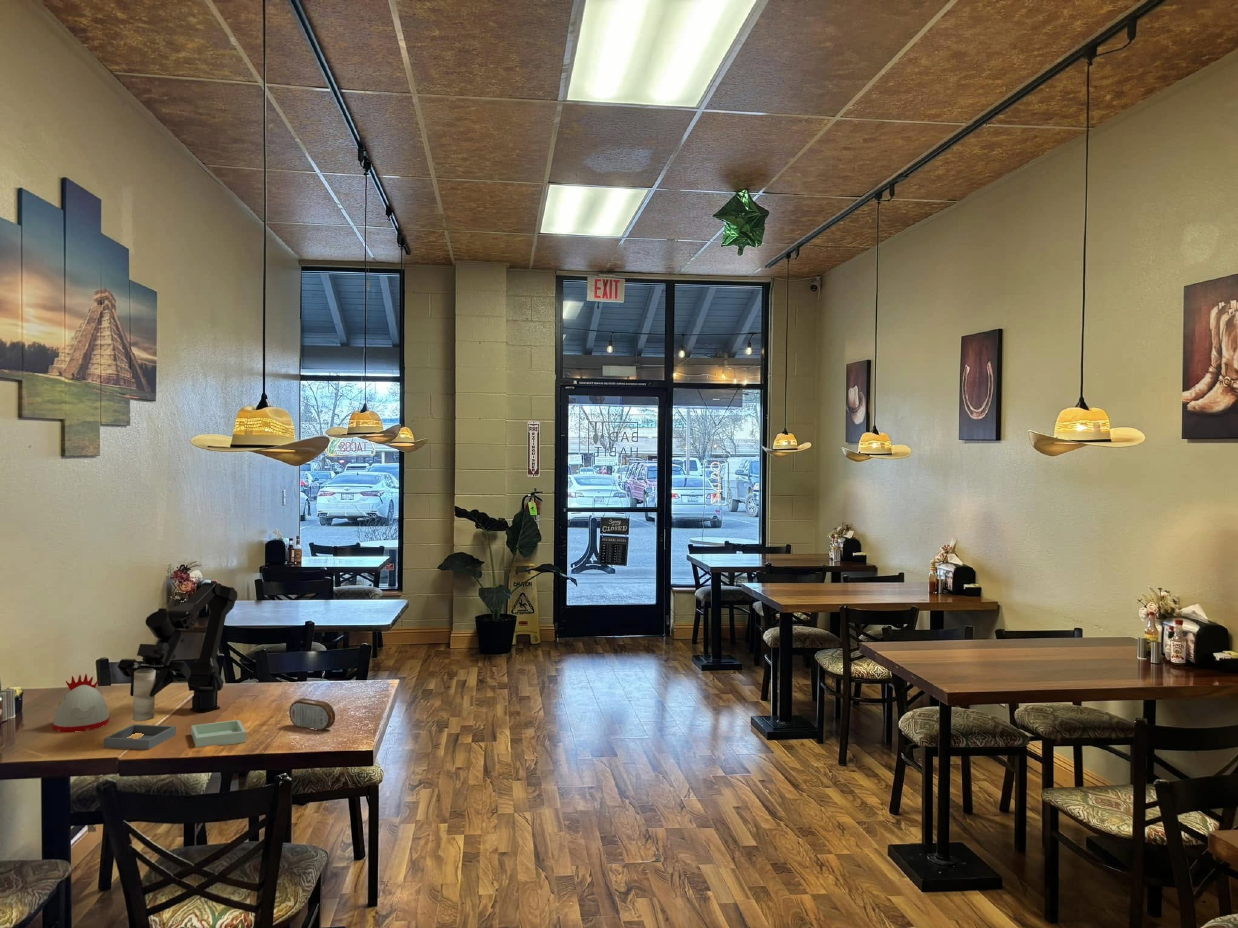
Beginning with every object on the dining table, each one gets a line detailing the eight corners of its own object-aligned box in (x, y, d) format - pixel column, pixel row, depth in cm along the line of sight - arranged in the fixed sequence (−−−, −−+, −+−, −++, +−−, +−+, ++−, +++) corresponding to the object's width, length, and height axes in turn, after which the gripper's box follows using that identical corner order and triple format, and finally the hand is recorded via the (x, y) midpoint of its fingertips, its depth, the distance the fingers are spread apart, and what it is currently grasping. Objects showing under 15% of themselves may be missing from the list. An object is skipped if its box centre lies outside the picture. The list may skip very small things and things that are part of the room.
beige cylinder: (146, 714, 235) (148, 666, 235) (158, 717, 232) (159, 669, 233) (128, 718, 230) (130, 670, 230) (139, 722, 228) (141, 673, 228)
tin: (335, 730, 248) (336, 701, 248) (328, 733, 245) (329, 704, 245) (294, 723, 253) (295, 696, 253) (286, 726, 250) (287, 698, 250)
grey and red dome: (51, 722, 246) (53, 672, 247) (105, 715, 255) (107, 666, 255) (54, 735, 235) (56, 682, 236) (111, 727, 244) (113, 676, 244)
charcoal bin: (132, 734, 238) (133, 724, 238) (175, 736, 237) (176, 726, 237) (103, 749, 225) (103, 737, 225) (148, 751, 225) (149, 740, 225)
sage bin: (191, 735, 238) (191, 725, 238) (239, 729, 245) (239, 719, 245) (195, 748, 228) (196, 737, 228) (245, 742, 234) (246, 731, 234)
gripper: (122, 630, 236) (95, 679, 225) (187, 632, 235) (163, 681, 224) (138, 651, 244) (112, 700, 233) (201, 654, 243) (178, 702, 232)
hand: (141, 695), depth 230 cm, fingers closed on beige cylinder, 5 cm apart
